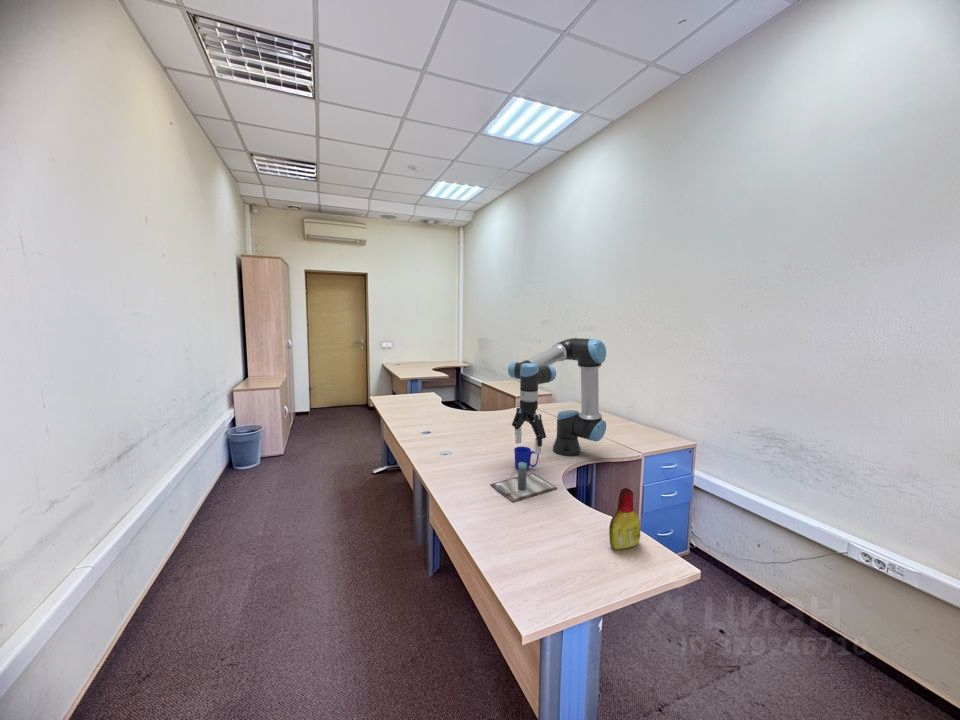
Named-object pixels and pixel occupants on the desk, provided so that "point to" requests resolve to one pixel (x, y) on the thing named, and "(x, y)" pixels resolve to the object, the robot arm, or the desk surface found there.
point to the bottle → (624, 523)
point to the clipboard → (533, 487)
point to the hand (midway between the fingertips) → (527, 448)
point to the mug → (524, 456)
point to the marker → (522, 477)
